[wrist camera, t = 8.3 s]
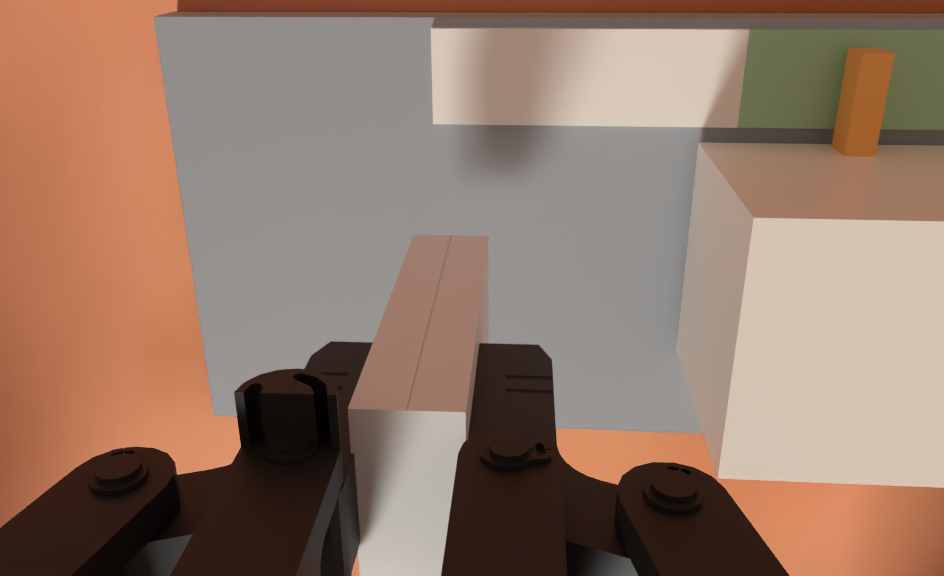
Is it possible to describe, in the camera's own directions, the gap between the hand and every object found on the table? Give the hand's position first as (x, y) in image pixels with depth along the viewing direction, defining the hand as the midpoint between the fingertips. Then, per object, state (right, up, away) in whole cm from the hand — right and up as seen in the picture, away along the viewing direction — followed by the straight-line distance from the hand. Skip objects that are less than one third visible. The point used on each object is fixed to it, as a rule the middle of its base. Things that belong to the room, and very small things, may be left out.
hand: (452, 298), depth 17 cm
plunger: (+12, +2, +1) cm, 12 cm away
